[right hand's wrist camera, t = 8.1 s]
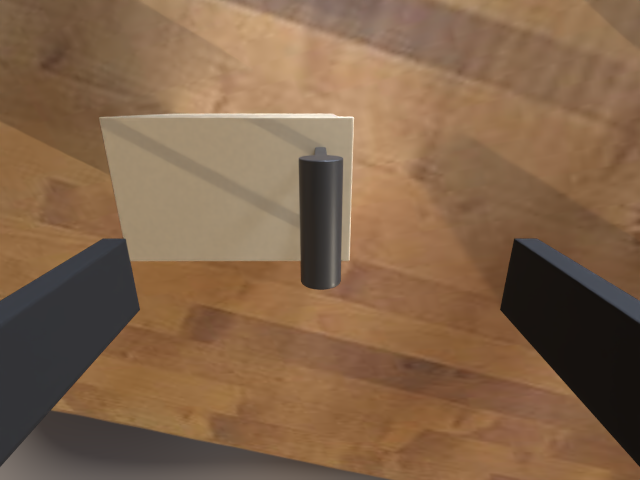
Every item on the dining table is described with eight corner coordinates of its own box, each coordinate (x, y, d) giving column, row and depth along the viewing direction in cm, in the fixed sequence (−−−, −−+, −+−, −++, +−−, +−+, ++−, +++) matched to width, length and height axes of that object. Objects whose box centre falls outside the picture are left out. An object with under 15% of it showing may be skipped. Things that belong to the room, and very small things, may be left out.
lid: (352, 116, 23) (369, 121, 15) (348, 255, 27) (360, 317, 19) (108, 116, 23) (-2, 121, 15) (135, 255, 27) (56, 318, 19)
